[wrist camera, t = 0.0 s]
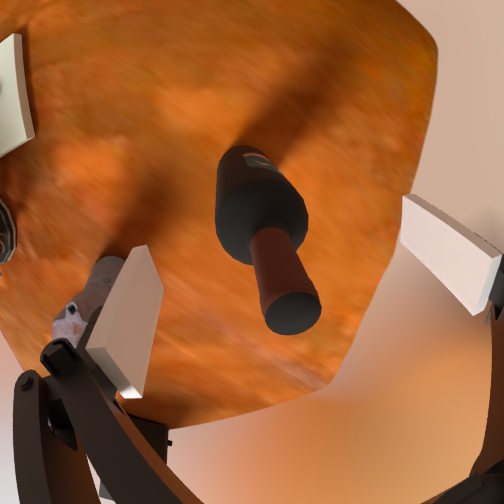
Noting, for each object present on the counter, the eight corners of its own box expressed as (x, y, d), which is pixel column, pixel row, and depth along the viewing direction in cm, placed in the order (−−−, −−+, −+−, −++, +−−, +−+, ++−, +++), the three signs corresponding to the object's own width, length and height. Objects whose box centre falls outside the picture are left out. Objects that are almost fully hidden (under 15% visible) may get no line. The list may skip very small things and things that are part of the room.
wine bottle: (211, 152, 38) (190, 267, 11) (264, 140, 37) (368, 225, 11) (224, 202, 41) (235, 376, 15) (274, 190, 41) (363, 344, 15)
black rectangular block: (152, 457, 86) (150, 509, 64) (106, 444, 80) (98, 497, 58) (176, 424, 71) (174, 498, 49) (113, 407, 65) (100, 482, 44)
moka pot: (136, 239, 42) (93, 326, 25) (147, 314, 50) (126, 405, 32) (84, 238, 41) (26, 317, 24) (102, 311, 48) (69, 395, 31)
